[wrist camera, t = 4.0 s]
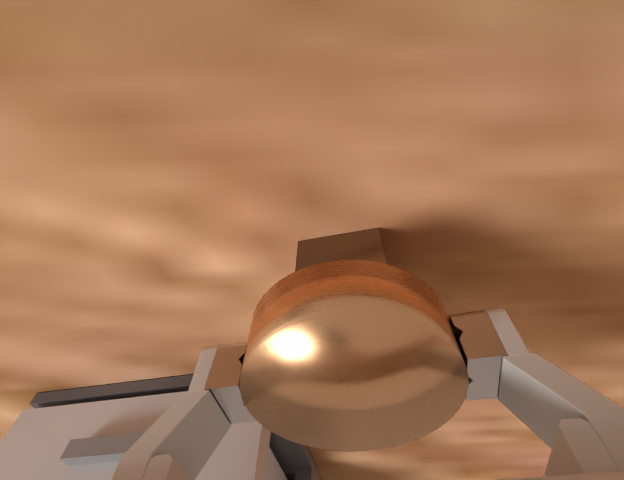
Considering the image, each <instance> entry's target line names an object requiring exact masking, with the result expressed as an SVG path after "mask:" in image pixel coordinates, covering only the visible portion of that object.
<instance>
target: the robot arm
mask: <svg viewBox="0 0 624 480" xmlns="http://www.w3.org/2000/svg"><path fill="white" fill-rule="evenodd" d="M448 320H449V323H450V325H451V328H452V331H453V333H454V336H455V339H456V341H457V344H458V347H459V349H460V352H461V355H462V357H463V360H464V363H465V365H466V369H467V372H468V379H469V385H468V392H467V394H466V400H478V399H492V398H498V400H499V401H500V402H501V403H503V404H504V405H505V406H506V407H507V408H508V409H509V410H510V411H511V412H512V413H513V414H514V415H516V416H517V417H518V418H519V419H520V420H521V421H522V422H523V423H524V424H525V425H526V426H528V427H529V428H530V429H531V430H532V431H533V432H534V433H535V434H536V435H537V436H538V437H539V438H541V439H542V440H543V441H544V442H545V443H546V444H547V445H548V446H549V447H550V448H551V449H552V450H551V454H550V457H549V461H548V464H547V468H546V471H545V475H546V476H543V477H528V478H514V479H499V480H624V408H623V407H621V406H619V405H618V404H616V403H615V402H613V401H611V400H610V399H608V398H607V397H605V396H604V395H602V394H600V393H599V392H597V391H596V390H594V389H592V388H591V387H589V386H588V385H586V384H585V383H583V382H581V381H580V380H578V379H577V378H575V377H573V376H572V375H570V374H569V373H567V372H565V371H564V370H562V369H561V368H559V367H558V366H556V365H554V364H553V363H551V362H550V361H548V360H546V359H545V358H543V357H542V356H540V355H539V354H537V353H530V352H529V350H528V349H527V347H526V345H525V343H524V342H523V340H522V338H521V336H520V335H519V333H518V331H517V329H516V328H515V326H514V324H513V322H512V321H511V319H510V317H509V315H508V314H507V312H506V310H505V309H503V308H497V309H490V310H484V311H483V310H481V311H474V312H467V313H460V314H453V315H449V316H448ZM247 343H248V342H241V343H232V344H222V345H214V346H205V347H204V349H203V350H202V351H201V354H200V357H199V360H198V363H197V366H196V369H195V372H194V375H193V378H192V381H191V384H190V387H189V390H188V392H185V393H183V394H182V395H181V396H180V397H179V398H178V399H177V400H176V401H175V402H174V403H173V404H172V405H171V406H170V407H169V408H168V409H167V410H166V411H165V412H164V413H163V414H162V415H161V416H160V417H159V418H158V419H157V420H156V422H155V423H154V424H153V425H152V426H151V427H150V428H149V429H148V430H147V431H146V432H145V433H144V434H143V435H142V436H141V437H140V438H139V439H138V440H137V441H136V442H135V443H134V444H133V445H132V446H131V447H130V448H129V449H128V450H127V452H126V453H125V454H124V455H123V456H122V457H121V459H120V461H119V463H118V466H117V468H116V470H115V473H114V475H113V477H112V480H195V479H196V478H197V476H198V475H199V473H200V472H201V470H202V469H203V467H204V466H205V464H206V463H207V461H208V460H209V458H210V457H211V455H212V454H213V452H214V451H215V449H216V448H217V446H218V445H219V443H220V442H221V440H222V439H223V437H224V436H225V434H226V433H227V432H228V430H229V429H230V427H231V425H230V424H238V423H245V422H253V421H257V420H256V419H255V418H254V417H253V416H252V415H251V414H250V413H249V411H248V410H247V408H246V407H245V405H244V403H243V400H242V398H241V394H240V376H241V371H242V366H243V362H244V357H245V352H246V347H247Z"/></svg>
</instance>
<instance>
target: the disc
mask: <svg viewBox="0 0 624 480" xmlns="http://www.w3.org/2000/svg"><path fill="white" fill-rule="evenodd" d="M468 385H469V379H468V372H467V369H466V365H465V363H464V360H463V357H462V355H461V352H460V349H459V347H458V344H457V341H456V339H455V336H454V333H453V331H452V328H451V325H450V323H449V320H448V317H447V315H446V312H445V309H444V307H443V304H442V303H441V301H440V299H439V297H438V296H437V295H436V293H435V292H434V291H433V290H432V289H431V288H430V287H429V286H428V285H427V284H426V283H425V282H424V281H422V280H421V279H419V278H418V277H416V276H415V275H413V274H411V273H409V272H407V271H405V270H403V269H401V268H398V267H395V266H392V265H389V264H385V263H380V262H375V261H367V260H337V261H329V262H324V263H319V264H315V265H312V266H309V267H306V268H303V269H300V270H298V271H296V272H294V273H292V274H290V275H288V276H287V277H285V278H283V279H282V280H280V281H279V282H278V283H276V284H275V285H274V286H273V287H271V288H270V289H269V290H268V292H267V293H266V294H265V295H264V296H263V297H262V299H261V300H260V302H259V303H258V305H257V307H256V310H255V312H254V315H253V319H252V324H251V329H250V333H249V338H248V343H247V347H246V352H245V357H244V362H243V366H242V371H241V376H240V394H241V398H242V400H243V403H244V405H245V407H246V408H247V410H248V411H249V413H250V414H251V415H252V416H253V417H254V418H255V419H256V420H257V421H258V422H259V423H260V424H261V425H262V426H264V427H265V428H267V429H268V430H270V431H271V432H273V433H275V434H276V435H278V436H280V437H282V438H285V439H287V440H290V441H292V442H295V443H298V444H301V445H305V446H309V447H313V448H318V449H325V450H333V451H370V450H378V449H384V448H389V447H394V446H398V445H402V444H405V443H408V442H411V441H414V440H416V439H419V438H421V437H423V436H425V435H427V434H429V433H431V432H433V431H435V430H436V429H438V428H439V427H441V426H442V425H443V424H445V423H446V422H447V421H448V420H449V419H450V418H452V417H453V416H454V414H455V413H456V412H457V411H458V410H459V408H460V407H461V405H462V403H463V402H464V400H465V397H466V394H467V392H468Z"/></svg>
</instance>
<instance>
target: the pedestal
mask: <svg viewBox="0 0 624 480" xmlns="http://www.w3.org/2000/svg"><path fill="white" fill-rule="evenodd" d="M337 260H367V261H375V262H380V263H385V264H387V261H386V257H385V253H384V248H383V244H382V240H381V235H380V231H379V228H376V229H370V230H365V231H359V232H353V233H347V234H341V235H335V236H329V237H323V238H317V239H311V240H305V241H299V242H298V248H297V258H296V269H295V272H296V271H298V270H300V269H303V268H306V267H309V266H312V265H315V264H319V263H324V262H329V261H337Z"/></svg>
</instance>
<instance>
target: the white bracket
mask: <svg viewBox="0 0 624 480" xmlns="http://www.w3.org/2000/svg"><path fill="white" fill-rule="evenodd" d="M185 392H188V391H184V392H175V393H167V394H158V395H149V396H140V397H132V398H123V399H114V400H105V401H96V402H88V403H79V404H70V405H61V406H53V407H44V408H35V409H26V410H23V411H22V412H21V414H20V415H19V417H18V418H17V419H16V421H15V422H14V424H13V425H12V427H11V428H10V429H9V431H8V432H7V434H6V435H5V436H4V438H3V439H2V441H1V442H0V480H112V477H113V475H114V473H115V470H116V468H117V466H118V463H119V461H120V459H121V457H122V456H123V455H124V454H125V453H126V452H127V450H128V449H129V448H130V447H131V446H132V445H133V444H134V443H135V442H136V441H137V440H138V439H139V438H140V437H141V436H142V435H143V434H144V433H145V432H146V431H147V430H148V429H149V428H150V427H151V426H152V425H153V424H154V423H155V422H156V420H157V419H158V418H159V417H160V416H161V415H162V414H163V413H164V412H165V411H166V410H167V409H168V408H169V407H170V406H171V405H172V404H173V403H174V402H175V401H176V400H177V399H178V398H179V397H180V396H181V395H182V394H183V393H185ZM230 425H231V427H230V429H229V430H228V432H227V433H226V434H225V436H224V437H223V439H222V440H221V442H220V443H219V445H218V446H217V448H216V449H215V451H214V452H213V454H212V455H211V457H210V458H209V460H208V461H207V463H206V464H205V466H204V467H203V469H202V470H201V472H200V473H199V475H198V476H197V478H196V479H195V480H287V478H286V476H285V474H284V472H283V471H282V469H281V467H280V465H279V463H278V462H277V460H276V458H275V456H274V454H273V452H272V451H271V449H270V447H269V443H270V435H271V431H270V430H268V429H267V428H265V427H264V426H262V425H261V424H260V423H259V422H258V421H253V422H245V423H238V424H230Z"/></svg>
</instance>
